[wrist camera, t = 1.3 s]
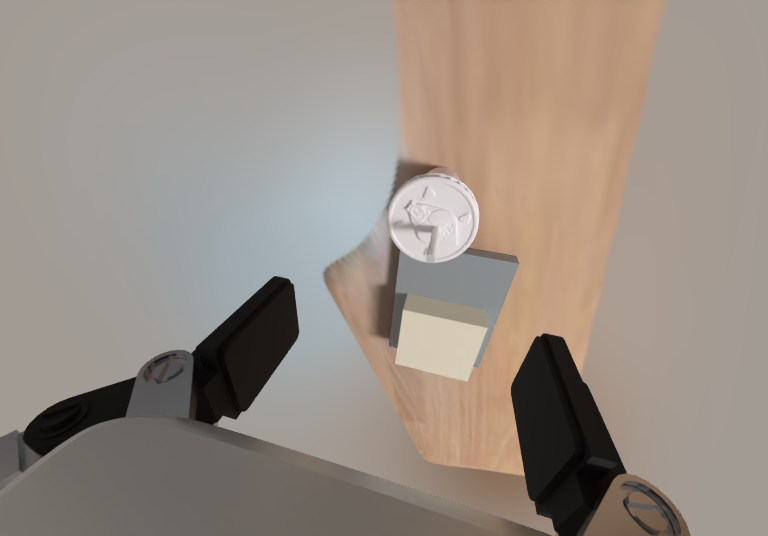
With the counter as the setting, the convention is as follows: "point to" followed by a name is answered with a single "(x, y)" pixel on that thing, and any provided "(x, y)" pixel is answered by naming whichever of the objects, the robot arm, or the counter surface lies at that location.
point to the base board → (456, 285)
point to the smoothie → (433, 216)
